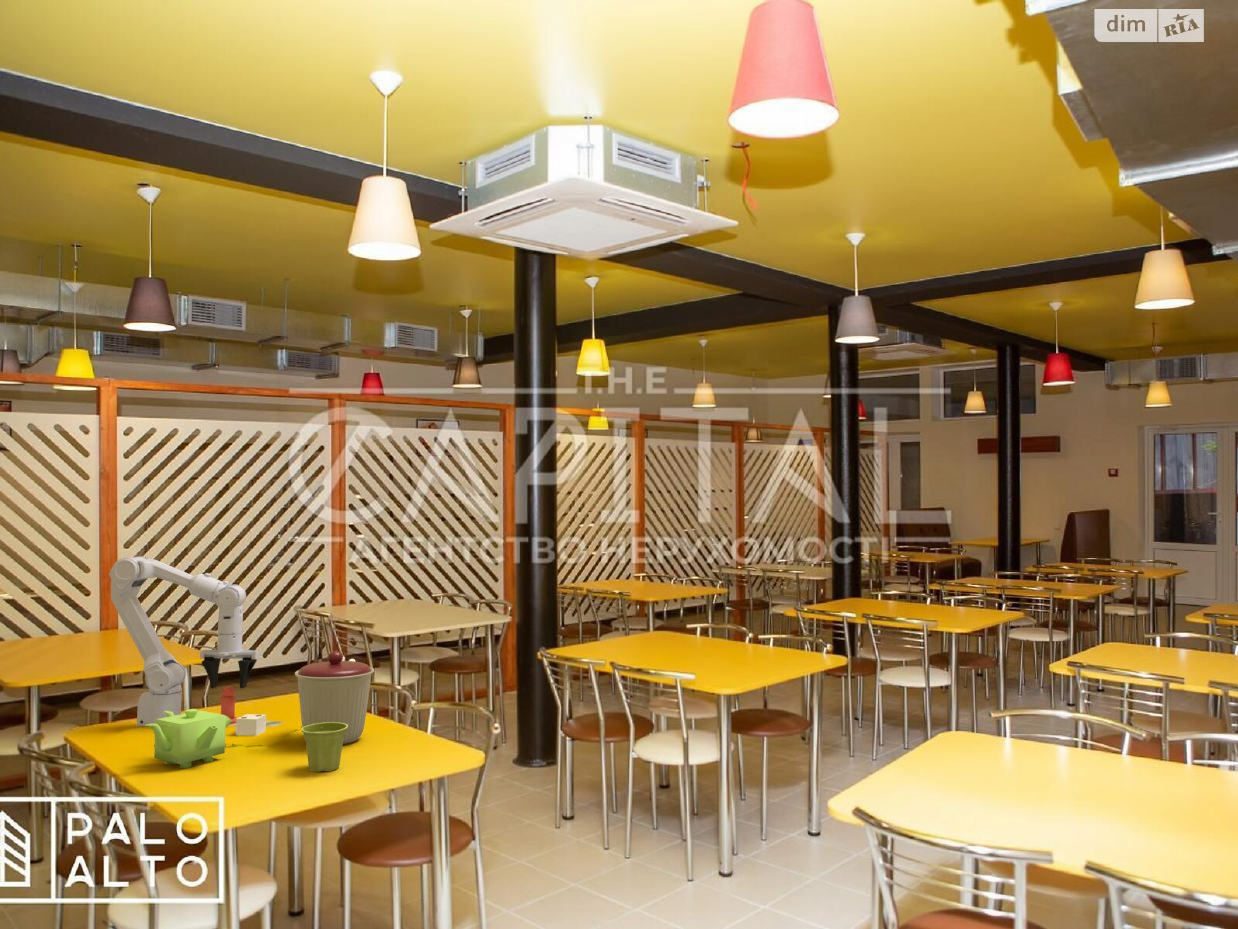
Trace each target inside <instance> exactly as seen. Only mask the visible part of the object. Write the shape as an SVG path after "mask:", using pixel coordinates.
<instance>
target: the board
mask: <svg viewBox="0 0 1238 929" xmlns="http://www.w3.org/2000/svg"><path fill="white" fill-rule="evenodd" d="M282 723H285V721H283V720H282V721H278V720H274V721H272V720H266V727H277V726H279V725H280V724H281V725H282ZM228 726H235V727H236V723H234V724H229V725H228Z"/></svg>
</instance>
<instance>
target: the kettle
mask: <svg viewBox="0 0 1238 929" xmlns="http://www.w3.org/2000/svg"><path fill="white" fill-rule="evenodd" d="M164 712H165V714H166V715H167V717H165V718H160V719H156V724H147V725H145V726H144V727H149V728H150V729H152V731H153V734H154V751H153V752H154V753H153V754H154V757H153V758H154V759H157V760H161V761H165V762H164V765H174V763H175V764H177V765H179V769H189V768H192V762H194V761H198V760H202V761H203V762H202V763H213V762H215V759H214V758H213V757H215V756H217V755H222V754H225V752H226V729H227V727H228V726H230V725H229V724H230V723H231V722H232V721H231V719H230V718H228V717H227V716H225V715H221V713H215V712H210V711H205V710H198V709H196V708H190V709H185V710H184V713H181V714H180V715H174V713H173V712H171V711H164Z"/></svg>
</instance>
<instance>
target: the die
mask: <svg viewBox="0 0 1238 929" xmlns="http://www.w3.org/2000/svg"><path fill="white" fill-rule="evenodd" d="M266 721H267V714H257V713H256V714H252V713H251V714H250V713H247V714H244V715H242V716H240V717H237V719H236V726H235V736H239V737H240V736H242V737H243V736H245V737H257V736H259V735H261V734H263V733H265V732H266V731H267V730H266V729H267V726H266Z"/></svg>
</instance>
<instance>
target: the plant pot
mask: <svg viewBox="0 0 1238 929" xmlns="http://www.w3.org/2000/svg"><path fill="white" fill-rule="evenodd" d="M347 728H348V725H347V724H345V723H338V722H324V723H316V724H311V725H307V726H304V727H303V728H302V727H301V733H302V734H303V738H304V740H305V747H306V754H307V762H308V763H307V764H308V769H309V770H308V771H311V772H314V773H320V772H322V771H323V772H324V771H326V772H332V771H335V770H337V769H338V768H339V767H340V765H341V763H340V762H341V758H342V752H343V751H342V750H343V745H344V744H343V739H344V735H345V732H346V729H347Z"/></svg>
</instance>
